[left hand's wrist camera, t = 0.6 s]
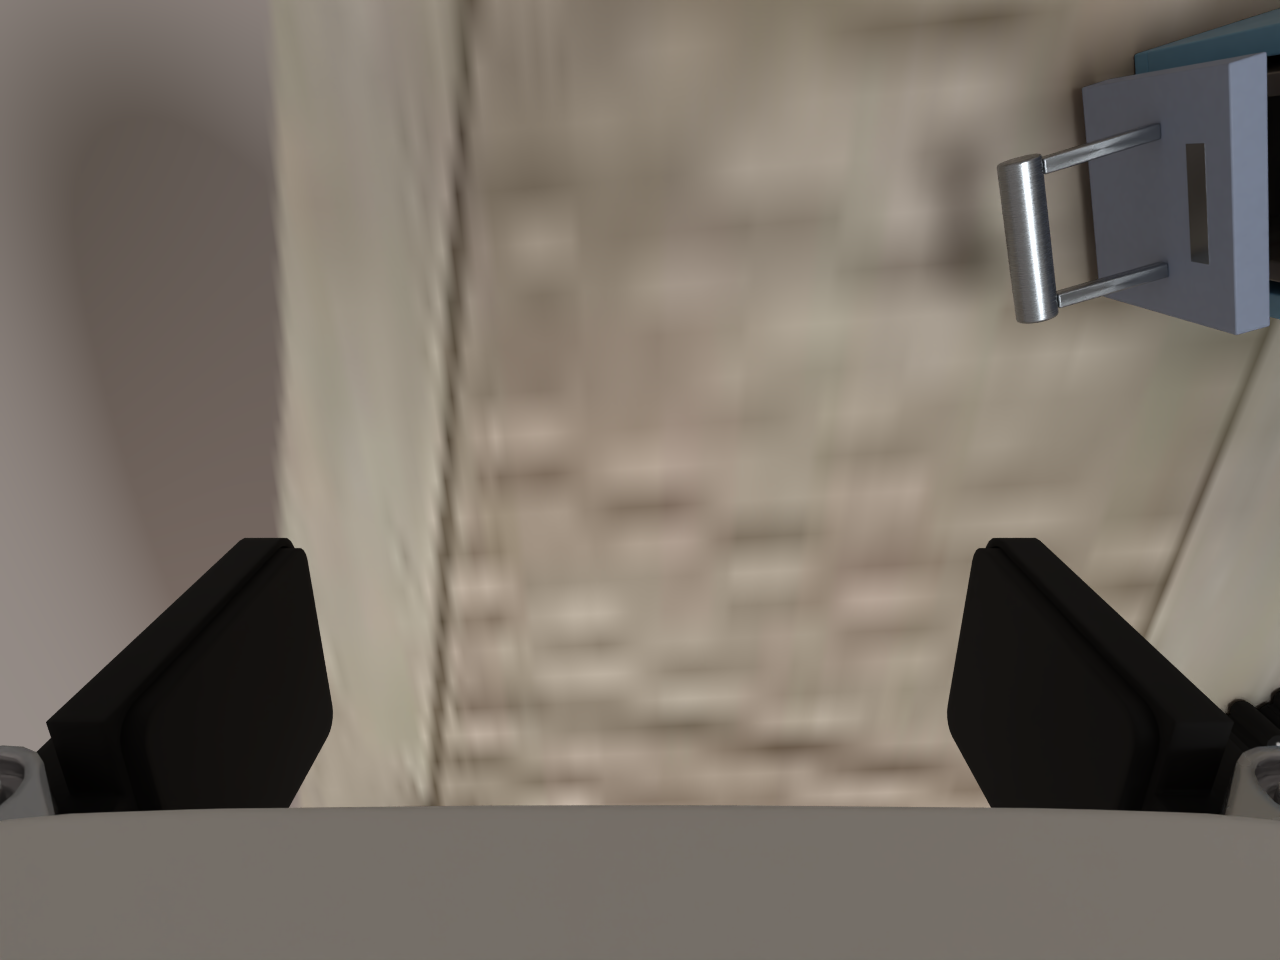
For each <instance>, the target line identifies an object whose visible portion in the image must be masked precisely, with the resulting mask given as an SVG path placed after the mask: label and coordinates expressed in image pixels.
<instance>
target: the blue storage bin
mask: <svg viewBox="0 0 1280 960" xmlns="http://www.w3.org/2000/svg"><path fill="white" fill-rule="evenodd" d="M1260 52H1266V53H1267V56H1273V55H1279V54H1280V8H1279V9H1275V10H1272V11H1269V12H1266V13H1263V14H1260V15H1257V16H1253V17H1250V18H1247V19H1244V20H1241V21H1238V22H1235V23H1231V24H1228V25H1225V26H1222V27H1219V28H1216V29H1213V30H1209V31H1206V32H1203V33H1200V34H1197V35H1194V36H1191V37H1187V38H1184V39H1181V40H1178V41H1175V42H1172V43H1168V44H1165V45H1162V46H1159V47H1156V48H1153V49H1150V50H1146V51H1143V52H1140V53H1137V54H1136V55H1135V71H1136V74H1142V73H1147V72H1153V71H1159V70H1164V69H1170V68H1175V67H1181V66H1187V65H1192V64H1198V63H1204V62H1209V61H1215V60H1221V59H1226V58H1232V57H1238V56H1243V55H1249V54H1255V53H1260ZM1269 311H1270V317H1273V318H1277V319H1280V282H1276V281H1271V280H1269Z"/></svg>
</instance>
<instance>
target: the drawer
mask: <svg viewBox="0 0 1280 960" xmlns="http://www.w3.org/2000/svg"><path fill="white" fill-rule="evenodd" d="M1082 95H1083V106H1084V118H1085V129H1086V141H1087V143H1085V144H1082V145H1079V146H1076V147H1072V148H1069V149H1066V150H1063V151H1060V152H1056V153H1053V154H1050V155H1047V156H1043V157H1042V156H1041V154H1031V155H1026V156H1021V157H1018V158H1014V159H1011V160H1008V161H1005V162H1002V163H1000V164H999V165H998V166H997V173H998V181H999V189H1000V196H1001V204H1002V212H1003V220H1004V228H1005V236H1006V244H1007V251H1008V259H1009V267H1010V275H1011V283H1012V291H1013V298H1014V306H1015V314H1016V320H1017V322H1019V323H1026V324H1029V323H1038V322H1043V321H1046V320H1049V319H1052V318H1054V317H1056V316H1057V315H1058V308H1062V307H1066V306H1069V305H1073V304H1076V303H1080V302H1083V301H1087V300H1090V299H1093V298H1097V297H1100V296H1104V297H1108V298H1111V299H1114V300H1118V301H1121V302H1125V303H1128V304H1132V305H1135V306H1139V307H1142V308H1145V309H1149V310H1152V311H1156V312H1159V313H1163V314H1166V315H1169V316H1173V317H1176V318H1180V319H1183V320H1187V321H1190V322H1194V323H1197V324H1200V325H1204V326H1207V327H1211V328H1214V329H1218V330H1221V331H1224V332H1228V333H1231V334H1235V335H1238V334H1242V333H1245V332H1249V331H1253V330H1256V329H1260V328H1263V327H1267V326H1269V325H1270V311H1269V280H1271V281H1276V282H1280V54H1279V55H1273V56H1267V53H1266V52H1260V53H1255V54H1249V55H1243V56H1238V57H1232V58H1226V59H1221V60H1215V61H1209V62H1204V63H1198V64H1192V65H1187V66H1181V67H1175V68H1170V69H1164V70H1159V71H1153V72H1147V73H1142V74H1136V75H1130V76H1125V77H1119V78H1113V79H1108V80H1105V81H1102V82H1099V83H1095V84H1092V85H1089V86H1086V87H1083V88H1082ZM1087 161H1088V163H1089V175H1090V186H1091V198H1092V209H1093V220H1094V232H1095V243H1096V254H1097V266H1098V277H1099V279H1096V280H1093V281H1090V282H1086V283H1083V284H1079V285H1076V286H1072V287H1069V288H1065V289H1062V290H1058V291H1056V284H1055V275H1054V266H1053V257H1052V247H1051V238H1050V229H1049V219H1048V210H1047V201H1046V191H1045V182H1044V174H1048V173H1051V172H1055V171H1058V170H1061V169H1064V168H1068V167H1071V166H1074V165H1077V164H1081V163H1084V162H1087Z"/></svg>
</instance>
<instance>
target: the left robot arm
mask: <svg viewBox="0 0 1280 960" xmlns="http://www.w3.org/2000/svg"><path fill="white" fill-rule="evenodd" d="M332 719H333V708H332V701H331V695H330V689H329V683H328V678H327V672H326V666H325V660H324V654H323V648H322V642H321V636H320V631H319V625H318V619H317V613H316V607H315V601H314V595H313V589H312V584H311V578H310V572H309V566H308V560H307V556H306V554H305V552H304V550H303V549H301V548H294V546H293V544H292V542H291V541H290V540H289V539H288V538H244V539H242V540H240V541H239V542H238V543H237V544H236V545H235V546H234V547H233V548H232V549H231V550H229V551H228V552H227V553H226V554H225V555H224V556H223V557H222V558H221V559H220V560H219V561H218V562H217V563H216V564H214V565H213V566H212V567H211V568H210V569H209V570H208V571H207V572H206V573H205V574H204V575H203V576H202V577H201V578H200V579H198V580H197V581H196V582H195V583H194V584H193V585H192V586H191V587H190V588H189V589H188V590H187V591H186V592H185V593H184V594H182V595H181V596H180V597H179V598H178V599H177V600H176V601H175V602H174V603H173V604H172V605H171V606H170V607H169V608H167V609H166V610H165V611H164V612H163V613H162V614H161V615H160V616H159V617H158V618H157V619H156V620H155V621H154V622H152V623H151V624H150V625H149V626H148V627H147V628H146V629H145V630H144V631H143V632H142V633H141V634H140V635H139V636H137V637H136V638H135V639H134V640H133V641H132V642H131V643H130V644H129V645H128V646H127V647H126V648H125V649H124V650H123V651H121V652H120V653H119V654H118V655H117V656H116V657H115V658H114V659H113V660H112V661H111V662H110V663H109V664H108V665H106V666H105V667H104V668H103V669H102V670H101V671H100V672H99V673H98V674H97V675H96V676H95V677H94V678H93V679H92V680H90V681H89V682H88V683H87V684H86V685H85V686H84V687H83V688H82V689H81V690H80V691H79V692H78V693H77V694H76V695H74V696H73V697H72V698H71V699H70V700H69V701H68V702H67V703H66V704H65V705H64V706H63V707H62V708H61V709H59V710H58V711H57V712H56V713H55V714H54V715H53V716H52V717H51V718H50V719H49V720H48V721H47V722H46V723H47V727H48V730H49V733H50V736H51V739H49V740H48V741H47V742H46V743H45V744H44V745H43V746H42V747H41V748H40V749H39V750H38V751H37V752H34V751H32V750H30V749H27V748H25V747H18V746H0V960H1280V746H1262V747H1255V748H1253V749H1250V750H1248V751H1245V752H1243V751H1242V750H1241V749H1240V748H1239V747H1238V746H1237V745H1236V744H1235V743H1234V742H1233V741H1232V740H1231V739H1229V736H1230V733H1231V730H1232V727H1233V724H1234V722H1233V721H1232V720H1231V719H1230V718H1229V717H1228V716H1227V715H1226V714H1225V713H1224V712H1223V711H1222V710H1221V709H1219V708H1218V707H1217V706H1216V705H1215V704H1214V703H1213V702H1212V701H1211V700H1210V699H1209V698H1208V697H1207V696H1206V695H1205V694H1203V693H1202V692H1201V691H1200V690H1199V689H1198V688H1197V687H1196V686H1195V685H1194V684H1193V683H1192V682H1191V681H1190V680H1188V679H1187V678H1186V677H1185V676H1184V675H1183V674H1182V673H1181V672H1180V671H1179V670H1178V669H1177V668H1176V667H1175V666H1174V665H1172V664H1171V663H1170V662H1169V661H1168V660H1167V659H1166V658H1165V657H1164V656H1163V655H1162V654H1161V653H1160V652H1159V651H1157V650H1156V649H1155V648H1154V647H1153V646H1152V645H1151V644H1150V643H1149V642H1148V641H1147V640H1146V639H1145V638H1144V637H1143V636H1141V635H1140V634H1139V633H1138V632H1137V631H1136V630H1135V629H1134V628H1133V627H1132V626H1131V625H1130V624H1129V623H1128V622H1126V621H1125V620H1124V619H1123V618H1122V617H1121V616H1120V615H1119V614H1118V613H1117V612H1116V611H1115V610H1114V609H1113V608H1111V607H1110V606H1109V605H1108V604H1107V603H1106V602H1105V601H1104V600H1103V599H1102V598H1101V597H1100V596H1099V595H1098V594H1097V593H1095V592H1094V591H1093V590H1092V589H1091V588H1090V587H1089V586H1088V585H1087V584H1086V583H1085V582H1084V581H1083V580H1082V579H1080V578H1079V577H1078V576H1077V575H1076V574H1075V573H1074V572H1073V571H1072V570H1071V569H1070V568H1069V567H1068V566H1067V565H1066V564H1064V563H1063V562H1062V561H1061V560H1060V559H1059V558H1058V557H1057V556H1056V555H1055V554H1054V553H1053V552H1052V551H1051V550H1049V549H1048V548H1047V547H1046V546H1045V545H1044V544H1043V543H1042V542H1041V541H1040V540H1038V539H1036V538H992V539H991V540H990V541H989V542H988V544H987V546H986V548H979V549H977V550H976V552H975V554H974V556H973V560H972V566H971V572H970V578H969V584H968V589H967V595H966V601H965V607H964V613H963V619H962V625H961V631H960V636H959V642H958V648H957V654H956V660H955V666H954V672H953V678H952V683H951V689H950V695H949V701H948V708H947V719H948V726H949V729H950V732H951V735H952V737H953V739H954V741H955V742H956V744H957V746H958V748H959V750H960V752H961V753H962V755H963V757H964V759H965V761H966V763H967V764H968V766H969V768H970V770H971V772H972V774H973V775H974V777H975V779H976V781H977V783H978V784H979V786H980V788H981V790H982V792H983V794H984V795H985V797H986V799H987V801H988V803H989V805H990V806H991V808H960V807H848V806H735V805H573V806H416V807H327V808H289V806H290V805H291V803H292V801H293V799H294V797H295V795H296V794H297V792H298V790H299V788H300V786H301V784H302V783H303V781H304V779H305V777H306V775H307V774H308V772H309V770H310V768H311V766H312V764H313V763H314V761H315V759H316V757H317V755H318V753H319V752H320V750H321V748H322V746H323V744H324V742H325V741H326V739H327V737H328V735H329V732H330V729H331V726H332Z"/></svg>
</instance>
